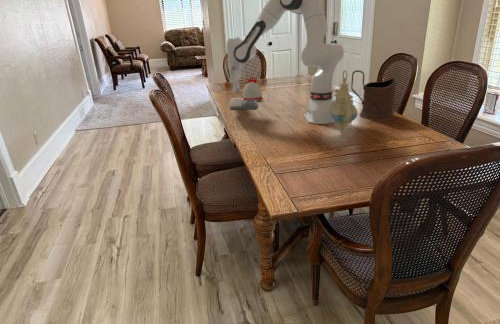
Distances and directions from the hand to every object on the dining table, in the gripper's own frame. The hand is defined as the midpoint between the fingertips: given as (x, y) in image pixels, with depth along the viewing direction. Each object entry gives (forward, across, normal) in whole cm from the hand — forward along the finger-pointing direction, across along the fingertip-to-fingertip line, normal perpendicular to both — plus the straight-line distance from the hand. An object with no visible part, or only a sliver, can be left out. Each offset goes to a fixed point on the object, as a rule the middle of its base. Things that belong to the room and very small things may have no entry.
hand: (236, 87), depth 218 cm
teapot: (+12, -50, -62) cm, 80 cm away
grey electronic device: (+12, 0, -4) cm, 13 cm away
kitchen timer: (+13, +23, -6) cm, 27 cm away
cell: (+3, 0, 0) cm, 3 cm away
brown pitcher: (+12, -21, -80) cm, 84 cm away
